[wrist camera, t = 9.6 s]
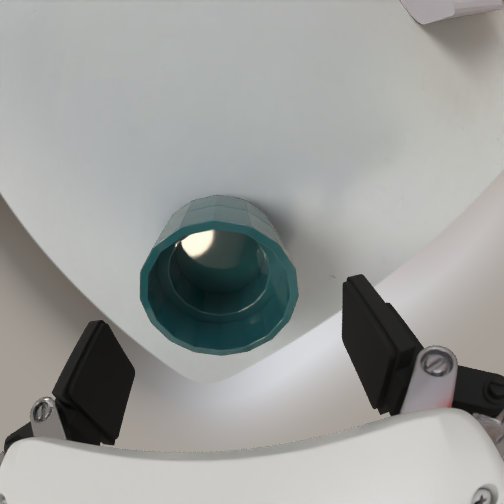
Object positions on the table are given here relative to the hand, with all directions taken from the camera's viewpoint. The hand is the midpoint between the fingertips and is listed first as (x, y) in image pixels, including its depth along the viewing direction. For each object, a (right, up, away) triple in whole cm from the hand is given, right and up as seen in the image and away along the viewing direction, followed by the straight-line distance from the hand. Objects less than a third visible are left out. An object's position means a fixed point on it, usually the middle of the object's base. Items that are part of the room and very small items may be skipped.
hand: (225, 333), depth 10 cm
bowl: (-1, +3, +7) cm, 7 cm away
